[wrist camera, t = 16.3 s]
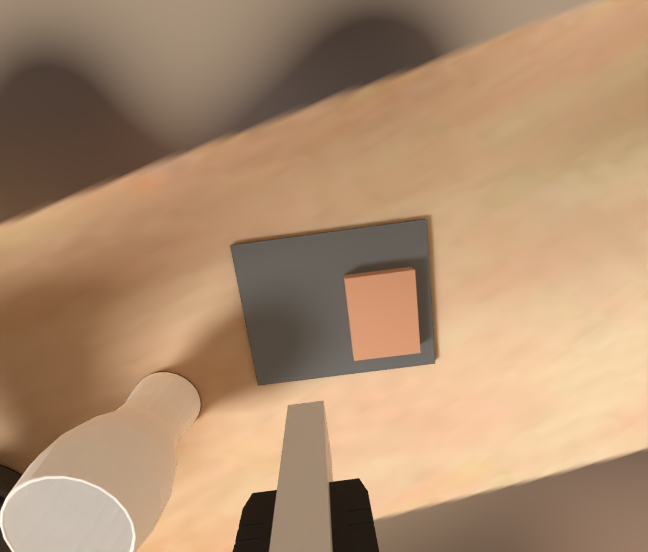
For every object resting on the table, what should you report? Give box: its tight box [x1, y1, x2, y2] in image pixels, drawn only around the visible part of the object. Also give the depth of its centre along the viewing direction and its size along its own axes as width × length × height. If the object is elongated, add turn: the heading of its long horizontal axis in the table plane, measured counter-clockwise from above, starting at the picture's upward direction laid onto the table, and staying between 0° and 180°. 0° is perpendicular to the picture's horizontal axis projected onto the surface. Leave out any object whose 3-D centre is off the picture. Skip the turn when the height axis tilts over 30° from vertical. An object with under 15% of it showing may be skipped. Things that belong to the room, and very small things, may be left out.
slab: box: [344, 267, 420, 361], centre depth 33 cm, size 2×9×7 cm
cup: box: [0, 372, 201, 552], centre depth 30 cm, size 11×11×15 cm
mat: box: [230, 219, 435, 385], centre depth 34 cm, size 20×16×1 cm
